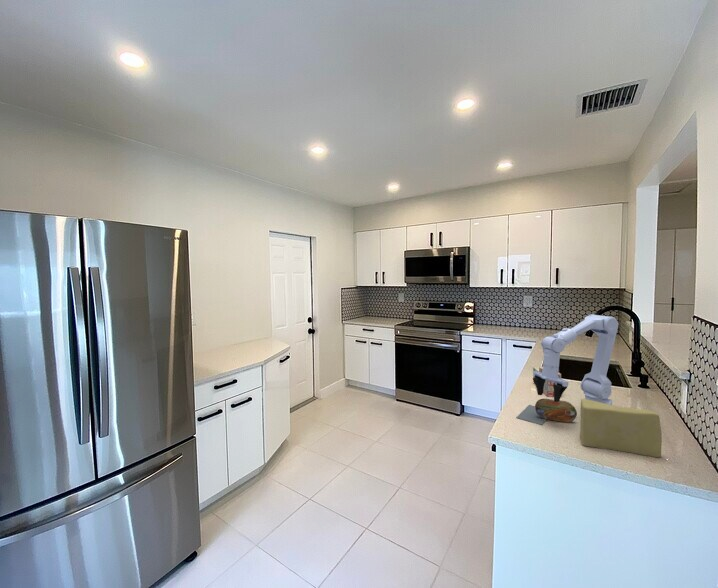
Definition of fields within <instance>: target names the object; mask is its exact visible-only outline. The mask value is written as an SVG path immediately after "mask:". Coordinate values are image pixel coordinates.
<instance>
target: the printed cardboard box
mask: <svg viewBox="0 0 718 588" xmlns="http://www.w3.org/2000/svg"><path fill="white" fill-rule="evenodd" d="M542 370H543V366H539V367H536V366H535V367H532V372H533V371H537V372H541V373H542ZM532 376H533V375H532ZM558 377H559V378H561V379H562V373H560V371H559V372H558ZM533 378H535V376H533V377H532V379H533ZM532 381H533V380H532ZM533 382H534V381H533ZM533 382H532V383H533ZM554 384H557V383H554V382H551V381H548V380H546V381H545V384H544V388H543V395H545V396H546V398H554V388H553V385H554Z"/></svg>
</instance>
